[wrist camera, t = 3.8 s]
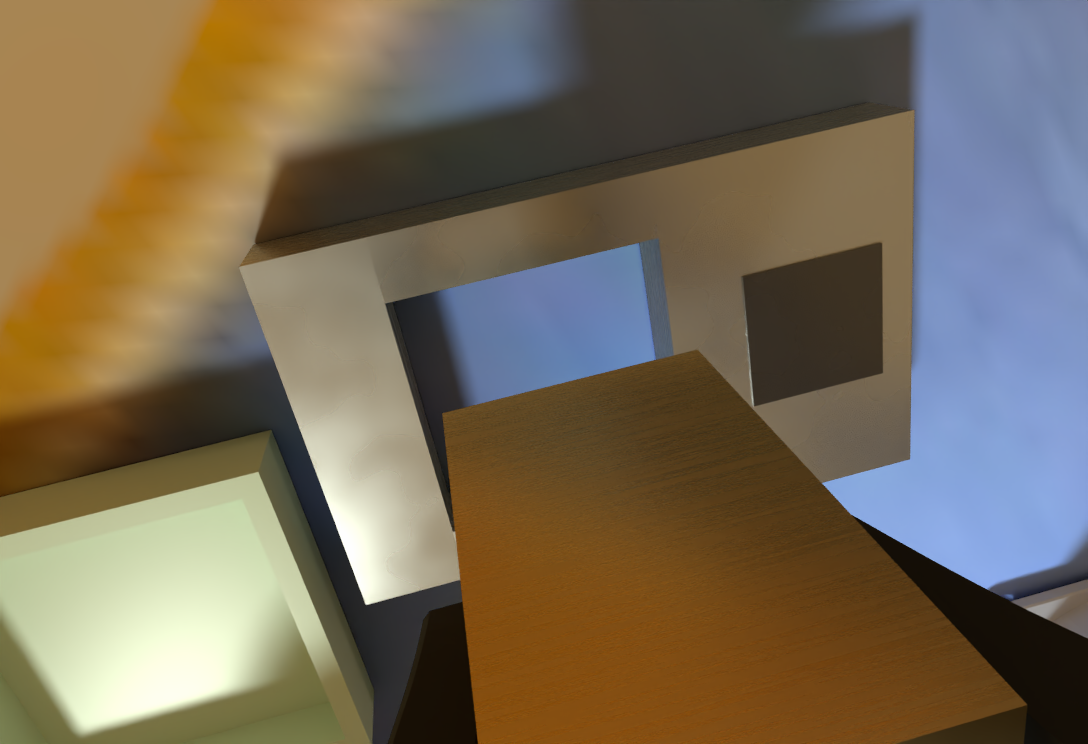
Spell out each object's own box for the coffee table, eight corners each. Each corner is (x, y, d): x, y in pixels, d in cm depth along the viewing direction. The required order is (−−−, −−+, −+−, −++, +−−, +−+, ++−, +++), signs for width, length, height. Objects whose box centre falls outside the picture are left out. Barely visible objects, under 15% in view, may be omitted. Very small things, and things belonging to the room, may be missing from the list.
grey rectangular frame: (869, 102, 16) (916, 109, 15) (872, 427, 20) (911, 460, 18) (253, 244, 16) (238, 268, 14) (368, 560, 19) (365, 606, 17)
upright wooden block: (697, 349, 12) (1027, 705, 6) (722, 555, 14) (997, 1006, 7) (442, 413, 12) (490, 862, 5) (499, 615, 13) (587, 1139, 7)
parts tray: (271, 429, 17) (257, 471, 16) (374, 689, 21) (372, 747, 19) (-106, 523, 17) (-161, 577, 15) (64, 775, 20) (35, 842, 18)
